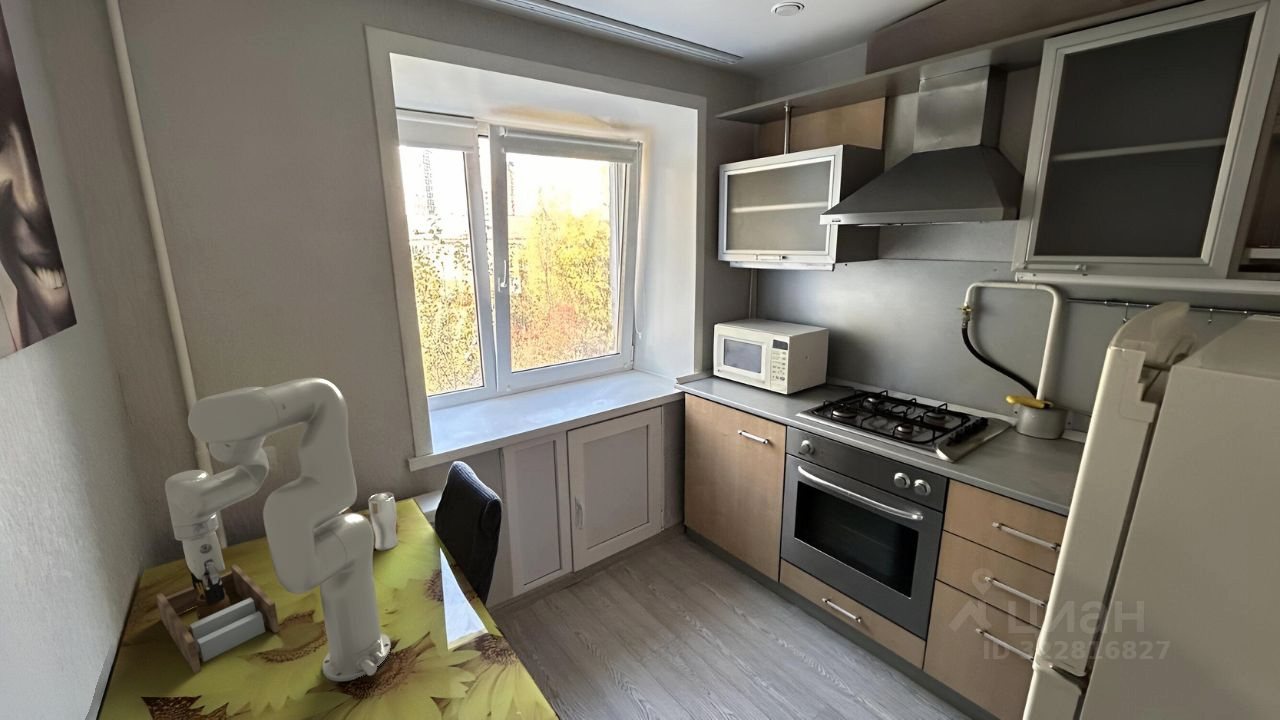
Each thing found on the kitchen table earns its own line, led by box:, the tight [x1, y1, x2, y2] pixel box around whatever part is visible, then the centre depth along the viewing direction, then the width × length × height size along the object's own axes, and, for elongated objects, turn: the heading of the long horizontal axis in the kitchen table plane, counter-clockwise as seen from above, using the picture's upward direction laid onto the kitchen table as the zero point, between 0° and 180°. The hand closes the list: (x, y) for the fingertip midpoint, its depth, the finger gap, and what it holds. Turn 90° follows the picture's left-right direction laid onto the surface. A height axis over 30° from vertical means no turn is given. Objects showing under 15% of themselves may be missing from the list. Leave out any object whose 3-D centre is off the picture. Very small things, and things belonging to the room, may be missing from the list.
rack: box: [155, 563, 280, 674], centre depth 118 cm, size 27×15×7 cm, turn 53°
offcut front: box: [197, 611, 266, 662], centre depth 112 cm, size 2×11×4 cm, turn 143°
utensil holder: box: [195, 578, 231, 621], centre depth 119 cm, size 6×6×12 cm
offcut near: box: [189, 597, 256, 653], centre depth 114 cm, size 2×11×6 cm, turn 143°
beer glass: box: [367, 491, 399, 552], centre depth 149 cm, size 7×7×15 cm
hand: (209, 593), depth 118 cm, fingers open, 9 cm apart
